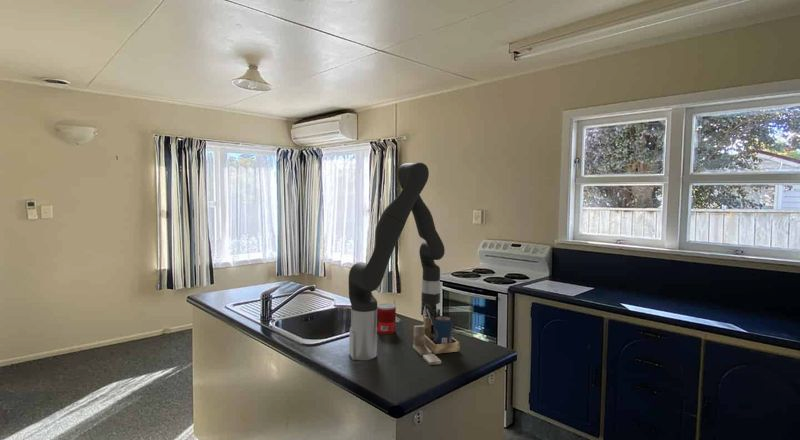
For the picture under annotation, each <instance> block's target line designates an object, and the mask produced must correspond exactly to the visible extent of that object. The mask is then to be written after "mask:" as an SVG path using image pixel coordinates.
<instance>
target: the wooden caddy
mask: <svg viewBox="0 0 800 440" xmlns="http://www.w3.org/2000/svg"><path fill="white" fill-rule="evenodd" d="M431 325H432V324H431V320H430V319H429V316H427V317H424V326H425V334H424V345H425V346H426V347H427V348H428V349H429V350H430V351H431V352H432V354H434V355H437V354H446V353H453V352H454V353H456V352H460V344H461V343H460V342H459V341H458V340H457V339H456V338H454V337H453V336H452V343H445V344H435V343H434V342H433V340H432V339H433V334H431Z"/></svg>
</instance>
